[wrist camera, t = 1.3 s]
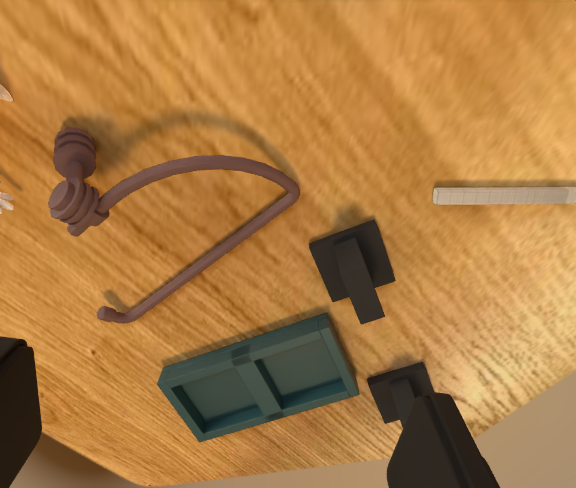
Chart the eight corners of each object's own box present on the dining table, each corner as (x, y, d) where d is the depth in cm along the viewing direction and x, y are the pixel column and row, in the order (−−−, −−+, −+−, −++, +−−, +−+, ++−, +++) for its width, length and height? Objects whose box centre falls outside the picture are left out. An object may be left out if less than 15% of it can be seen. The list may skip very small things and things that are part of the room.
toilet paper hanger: (128, 338, 38) (-41, 294, 27) (122, 270, 43) (-22, 211, 32) (312, 204, 32) (189, 85, 22) (280, 144, 37) (168, 23, 27)
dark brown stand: (373, 219, 34) (390, 250, 29) (393, 275, 37) (411, 313, 31) (308, 243, 35) (312, 277, 30) (331, 296, 38) (339, 337, 32)
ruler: (432, 200, 33) (436, 204, 33) (434, 187, 33) (438, 191, 32) (581, 199, 33) (589, 203, 33) (585, 186, 33) (594, 190, 32)
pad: (422, 361, 41) (443, 408, 36) (436, 401, 43) (457, 450, 38) (366, 378, 42) (378, 426, 37) (383, 416, 44) (396, 466, 39)
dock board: (327, 312, 38) (329, 326, 36) (356, 378, 42) (359, 394, 40) (163, 367, 41) (156, 384, 39) (203, 424, 45) (199, 442, 43)
